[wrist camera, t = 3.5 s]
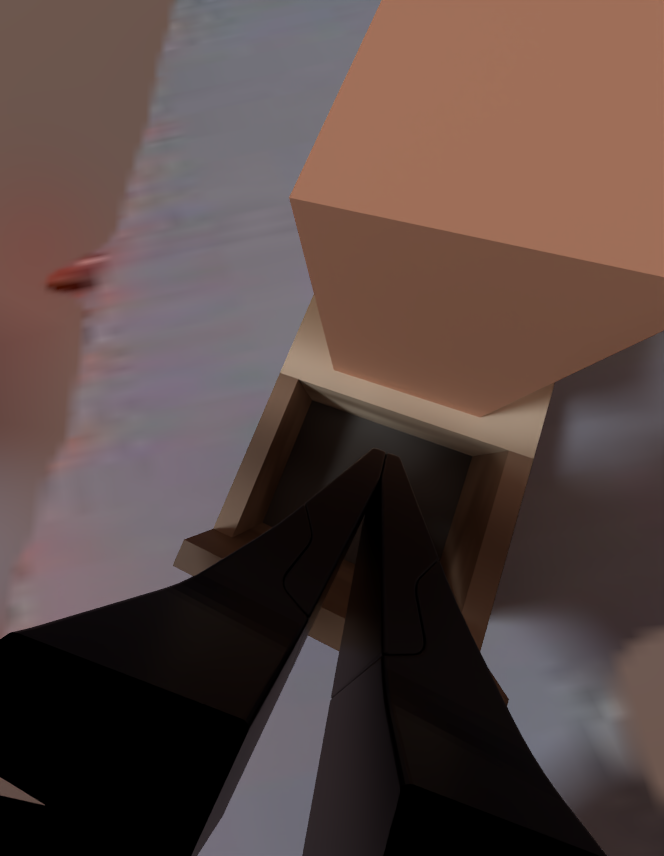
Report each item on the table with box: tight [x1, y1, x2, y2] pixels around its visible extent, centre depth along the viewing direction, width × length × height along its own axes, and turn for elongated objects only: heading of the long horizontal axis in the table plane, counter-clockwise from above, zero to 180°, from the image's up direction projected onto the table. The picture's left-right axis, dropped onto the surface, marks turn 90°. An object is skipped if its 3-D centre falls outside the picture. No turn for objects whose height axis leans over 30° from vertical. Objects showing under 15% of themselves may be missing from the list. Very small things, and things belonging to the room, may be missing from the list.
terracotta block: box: [289, 0, 664, 417], centre depth 9 cm, size 7×7×8 cm
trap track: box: [173, 295, 555, 706], centre depth 14 cm, size 36×12×6 cm, turn 159°
